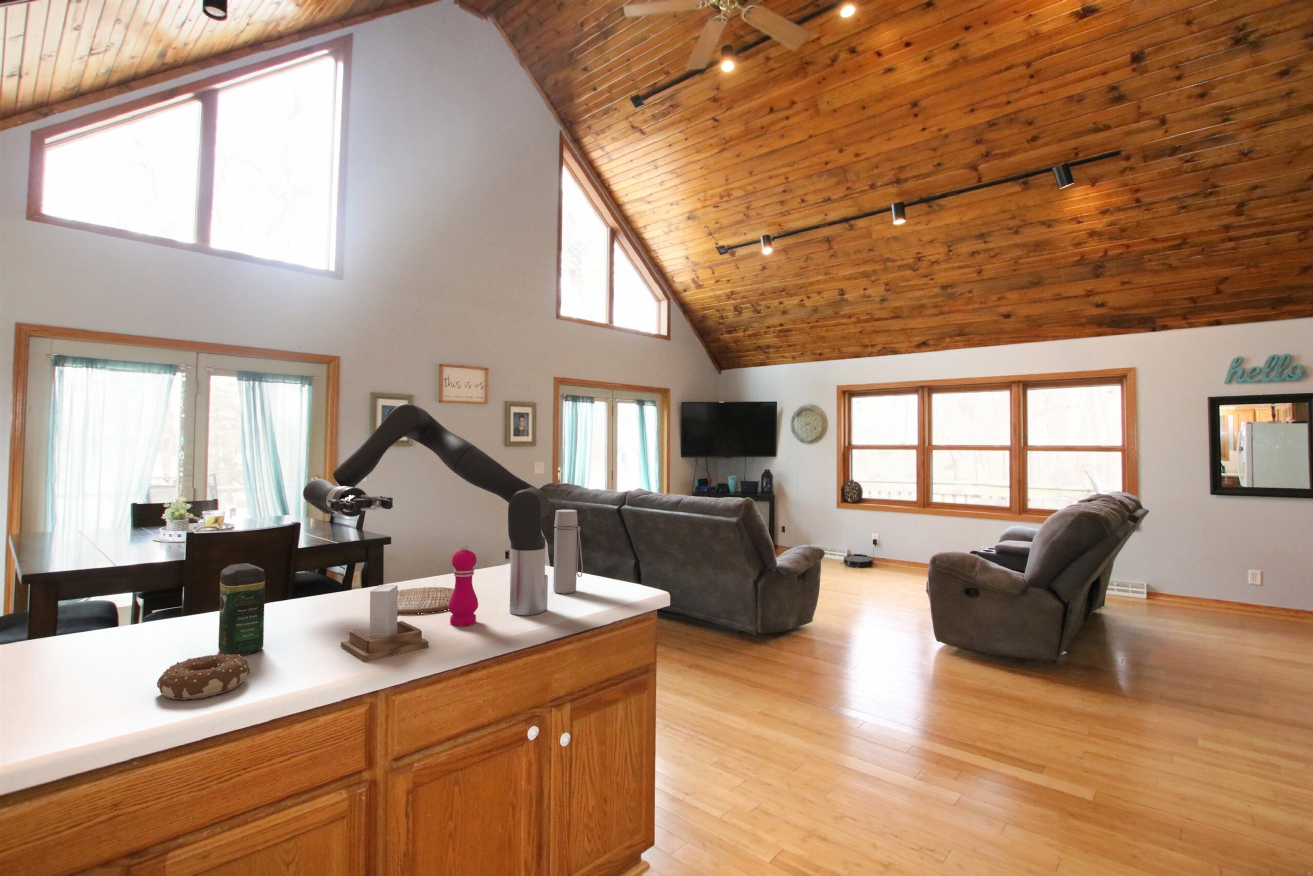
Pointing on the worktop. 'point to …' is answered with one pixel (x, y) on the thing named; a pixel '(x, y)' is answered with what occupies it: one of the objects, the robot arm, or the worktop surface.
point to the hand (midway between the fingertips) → (372, 506)
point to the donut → (203, 676)
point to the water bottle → (566, 551)
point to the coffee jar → (241, 609)
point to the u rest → (385, 643)
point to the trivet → (423, 600)
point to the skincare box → (383, 611)
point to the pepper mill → (463, 589)
